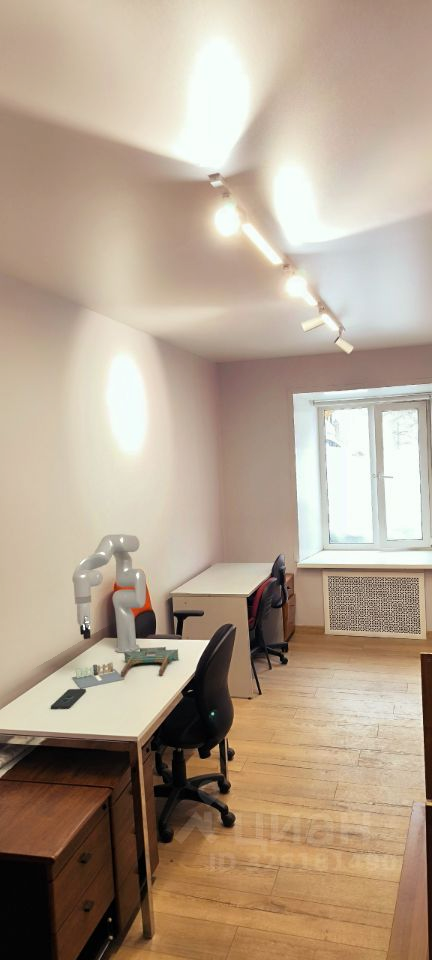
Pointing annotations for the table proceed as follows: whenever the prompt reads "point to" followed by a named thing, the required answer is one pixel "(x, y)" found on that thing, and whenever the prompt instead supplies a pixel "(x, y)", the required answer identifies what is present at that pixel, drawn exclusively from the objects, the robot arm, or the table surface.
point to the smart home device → (68, 699)
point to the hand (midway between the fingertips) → (85, 636)
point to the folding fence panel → (83, 672)
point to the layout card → (98, 679)
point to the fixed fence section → (110, 669)
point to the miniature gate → (149, 657)
